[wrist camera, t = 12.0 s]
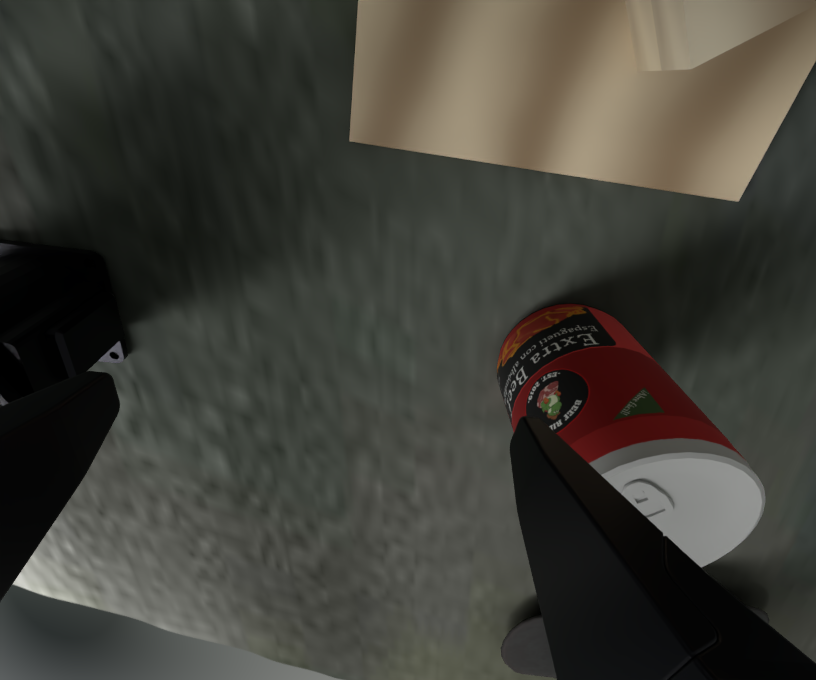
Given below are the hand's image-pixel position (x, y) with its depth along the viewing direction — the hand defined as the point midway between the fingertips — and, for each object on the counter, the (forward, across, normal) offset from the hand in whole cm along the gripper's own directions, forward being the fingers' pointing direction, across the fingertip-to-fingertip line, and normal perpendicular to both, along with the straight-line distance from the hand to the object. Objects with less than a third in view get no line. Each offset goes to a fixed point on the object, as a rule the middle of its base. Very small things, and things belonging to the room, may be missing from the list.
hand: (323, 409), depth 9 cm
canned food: (+13, -12, +6) cm, 19 cm away
